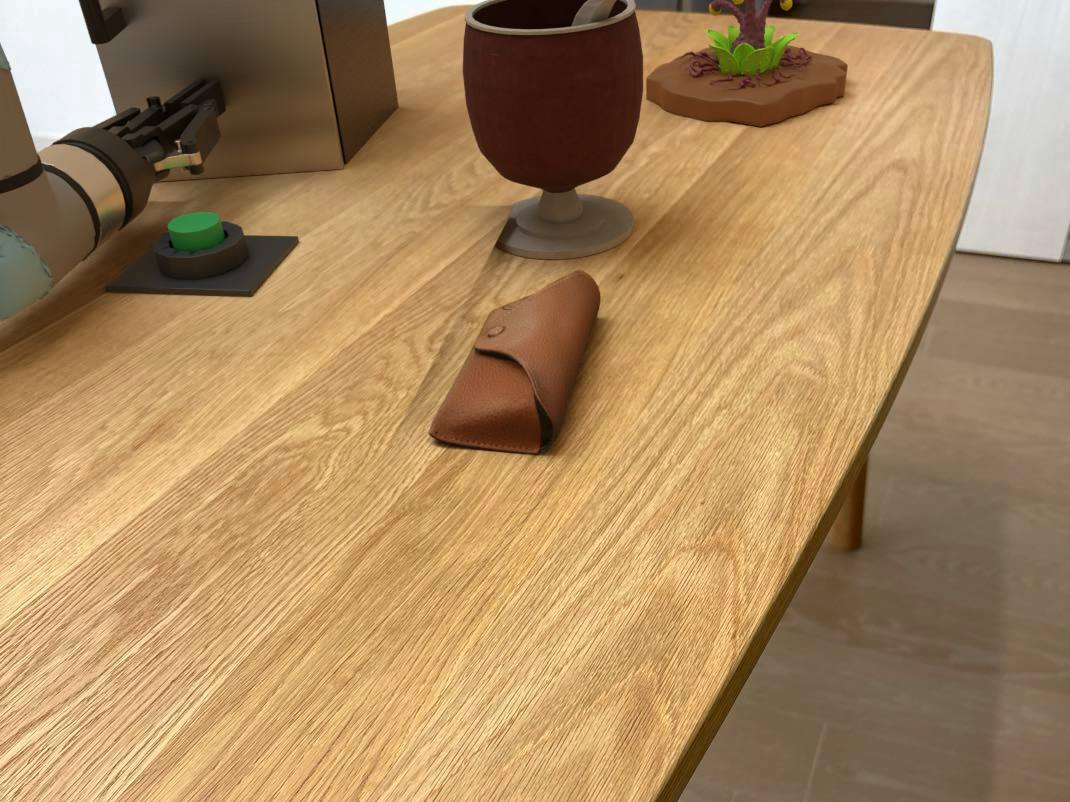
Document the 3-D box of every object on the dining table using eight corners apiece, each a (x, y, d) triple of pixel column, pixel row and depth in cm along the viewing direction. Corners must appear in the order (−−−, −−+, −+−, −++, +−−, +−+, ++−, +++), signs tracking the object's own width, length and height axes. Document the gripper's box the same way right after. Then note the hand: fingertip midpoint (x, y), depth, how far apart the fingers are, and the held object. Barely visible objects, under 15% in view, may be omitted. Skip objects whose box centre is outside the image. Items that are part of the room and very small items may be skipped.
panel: (113, 312, 83) (96, 264, 81) (171, 257, 91) (157, 212, 88) (256, 317, 81) (244, 268, 78) (303, 261, 88) (293, 214, 86)
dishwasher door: (335, 191, 100) (279, -106, 85) (120, 206, 101) (27, -87, 86) (344, 165, 106) (294, -119, 90) (140, 179, 106) (56, -101, 91)
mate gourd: (446, 232, 91) (415, -28, 79) (566, 185, 98) (555, -61, 85) (567, 285, 82) (554, 0, 69) (692, 230, 88) (699, -40, 76)
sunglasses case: (487, 305, 79) (526, 231, 75) (570, 351, 80) (613, 281, 76) (422, 441, 65) (466, 360, 61) (523, 494, 66) (573, 419, 62)
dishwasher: (346, 165, 106) (296, -122, 91) (158, 164, 110) (79, -111, 94) (399, 107, 119) (362, -150, 104) (230, 108, 123) (171, -140, 108)
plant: (614, 105, 115) (612, -9, 108) (715, 59, 126) (719, -47, 119) (777, 136, 105) (786, 12, 98) (871, 83, 116) (886, -32, 109)
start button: (164, 253, 82) (158, 231, 81) (187, 232, 85) (181, 211, 84) (212, 254, 82) (206, 232, 81) (233, 233, 85) (228, 212, 84)
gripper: (18, 236, 85) (153, 136, 103) (179, 239, 83) (289, 136, 101) (-18, 141, 81) (130, 54, 99) (151, 142, 78) (271, 52, 96)
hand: (210, 95), depth 100 cm, fingers closed
